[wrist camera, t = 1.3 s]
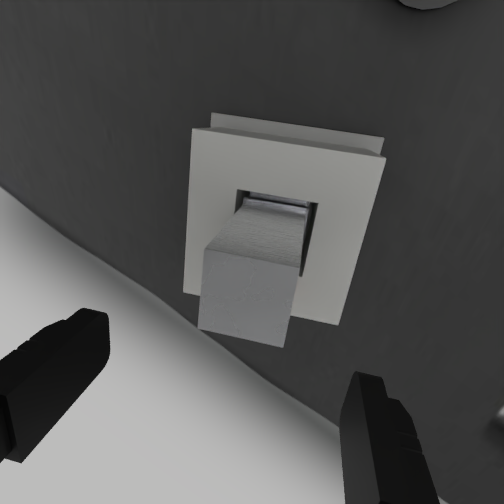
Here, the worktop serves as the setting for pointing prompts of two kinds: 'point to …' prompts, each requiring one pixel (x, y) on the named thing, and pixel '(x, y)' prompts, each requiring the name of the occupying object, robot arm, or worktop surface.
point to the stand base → (290, 186)
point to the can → (426, 3)
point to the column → (254, 270)
